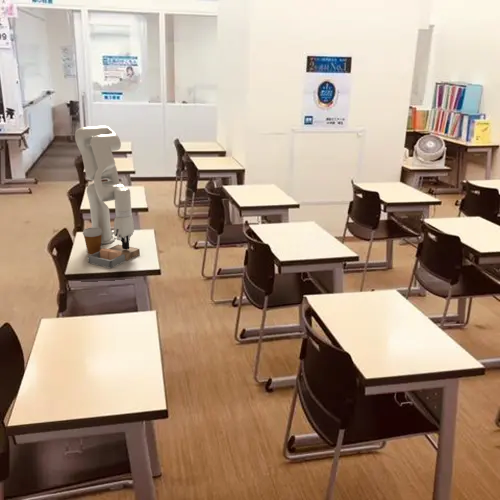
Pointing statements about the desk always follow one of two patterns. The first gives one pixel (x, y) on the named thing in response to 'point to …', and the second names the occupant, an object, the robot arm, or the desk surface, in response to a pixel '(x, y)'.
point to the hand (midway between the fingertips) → (125, 248)
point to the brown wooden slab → (127, 251)
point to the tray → (105, 260)
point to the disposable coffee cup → (93, 239)
